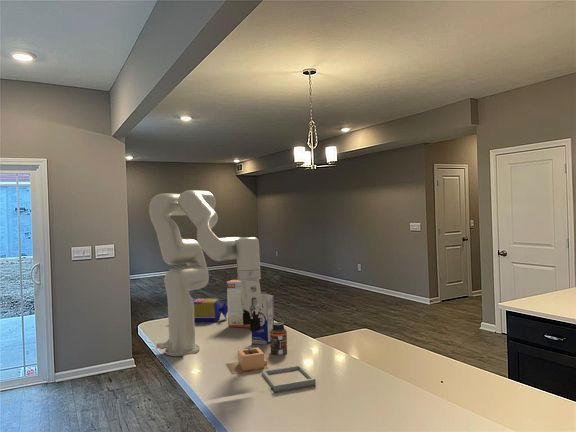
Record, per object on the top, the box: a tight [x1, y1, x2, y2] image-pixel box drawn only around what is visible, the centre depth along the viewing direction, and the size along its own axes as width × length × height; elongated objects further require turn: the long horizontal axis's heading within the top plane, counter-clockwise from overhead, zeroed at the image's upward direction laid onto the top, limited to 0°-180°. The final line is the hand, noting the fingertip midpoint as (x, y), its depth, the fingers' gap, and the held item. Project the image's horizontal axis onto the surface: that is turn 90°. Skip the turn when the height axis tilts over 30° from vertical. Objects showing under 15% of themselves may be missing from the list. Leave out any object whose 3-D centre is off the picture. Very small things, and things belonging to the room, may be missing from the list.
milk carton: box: [251, 291, 275, 346], centre depth 164 cm, size 7×7×20 cm
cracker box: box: [226, 279, 250, 329], centre depth 190 cm, size 14×6×21 cm, turn 71°
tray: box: [261, 364, 317, 394], centre depth 124 cm, size 13×13×2 cm
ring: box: [237, 346, 268, 371], centre depth 136 cm, size 9×7×4 cm
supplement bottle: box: [269, 321, 288, 356], centre depth 148 cm, size 6×6×11 cm
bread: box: [192, 298, 228, 323], centre depth 204 cm, size 10×25×10 cm, turn 85°
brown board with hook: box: [225, 346, 270, 375], centre depth 135 cm, size 12×10×6 cm
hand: (251, 327), depth 135 cm, fingers open, 9 cm apart
